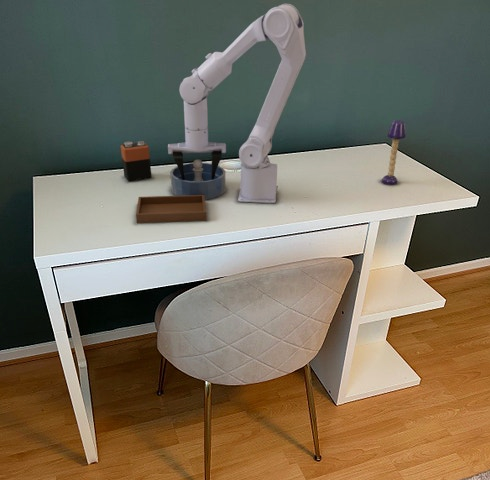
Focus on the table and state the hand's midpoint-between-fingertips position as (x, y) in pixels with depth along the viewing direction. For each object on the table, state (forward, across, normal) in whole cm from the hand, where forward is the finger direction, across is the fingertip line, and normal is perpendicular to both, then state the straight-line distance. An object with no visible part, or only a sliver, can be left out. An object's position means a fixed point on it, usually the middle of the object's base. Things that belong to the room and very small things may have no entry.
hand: (198, 179), depth 132 cm
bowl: (+3, 0, 0) cm, 3 cm away
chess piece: (+3, 0, 0) cm, 3 cm away
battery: (+3, +16, -10) cm, 20 cm away
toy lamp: (+3, -53, -2) cm, 53 cm away
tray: (+3, +7, +14) cm, 15 cm away
